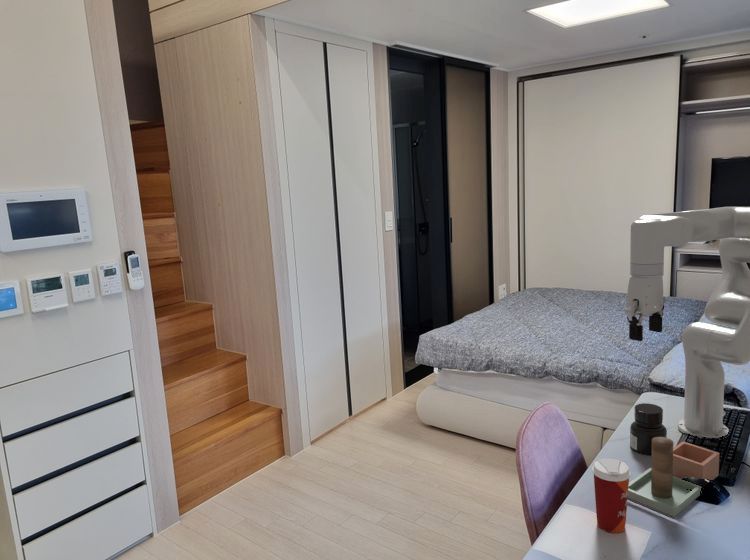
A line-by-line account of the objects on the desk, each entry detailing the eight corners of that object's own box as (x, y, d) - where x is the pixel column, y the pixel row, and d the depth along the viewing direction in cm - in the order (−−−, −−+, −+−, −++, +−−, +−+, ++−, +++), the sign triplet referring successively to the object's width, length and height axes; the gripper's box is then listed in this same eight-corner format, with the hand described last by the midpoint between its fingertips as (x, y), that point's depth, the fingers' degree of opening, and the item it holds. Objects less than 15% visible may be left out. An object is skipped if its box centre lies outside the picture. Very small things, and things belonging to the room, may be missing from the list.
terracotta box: (681, 464, 145) (682, 441, 144) (718, 477, 138) (719, 452, 137) (665, 477, 140) (665, 453, 139) (702, 491, 133) (703, 465, 132)
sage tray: (650, 476, 141) (650, 467, 140) (701, 496, 131) (701, 486, 131) (621, 497, 133) (621, 487, 133) (674, 519, 124) (674, 509, 123)
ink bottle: (636, 438, 160) (637, 398, 158) (670, 447, 154) (671, 405, 152) (624, 452, 153) (625, 411, 151) (660, 462, 147) (661, 418, 145)
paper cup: (634, 537, 119) (635, 476, 116) (595, 535, 120) (595, 474, 118) (625, 515, 126) (626, 457, 124) (589, 513, 128) (589, 456, 125)
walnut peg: (656, 486, 135) (657, 435, 133) (675, 493, 132) (677, 441, 129) (647, 493, 132) (648, 441, 130) (666, 500, 129) (667, 447, 127)
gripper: (649, 263, 149) (648, 325, 152) (613, 273, 139) (613, 340, 142) (678, 265, 143) (677, 330, 146) (643, 276, 133) (642, 346, 136)
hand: (645, 335), depth 144 cm, fingers open, 9 cm apart
